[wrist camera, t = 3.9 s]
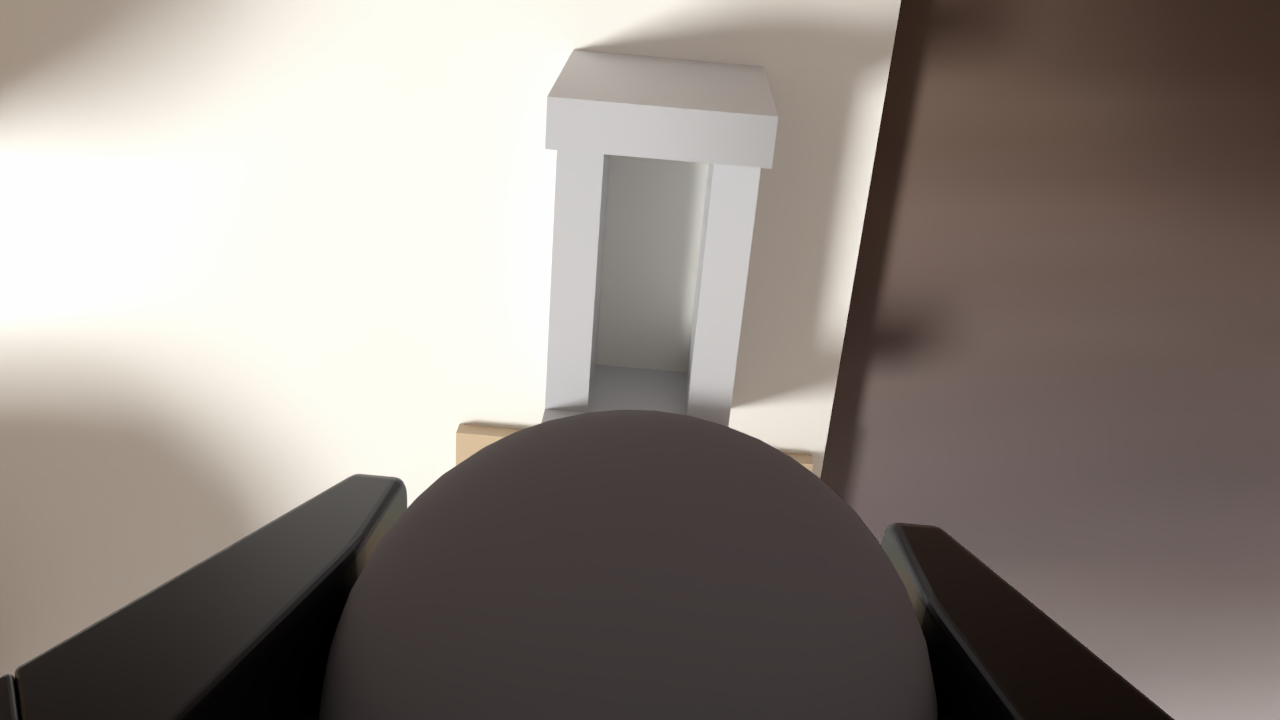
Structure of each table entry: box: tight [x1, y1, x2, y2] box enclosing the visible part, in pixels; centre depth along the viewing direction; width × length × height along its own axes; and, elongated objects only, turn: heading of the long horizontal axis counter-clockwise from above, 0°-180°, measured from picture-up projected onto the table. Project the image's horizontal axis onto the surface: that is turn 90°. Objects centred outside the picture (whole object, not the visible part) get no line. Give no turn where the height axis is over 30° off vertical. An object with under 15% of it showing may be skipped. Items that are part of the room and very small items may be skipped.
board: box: [0, 0, 901, 678], centre depth 15 cm, size 21×22×8 cm
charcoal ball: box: [319, 409, 938, 720], centre depth 8 cm, size 4×4×4 cm
